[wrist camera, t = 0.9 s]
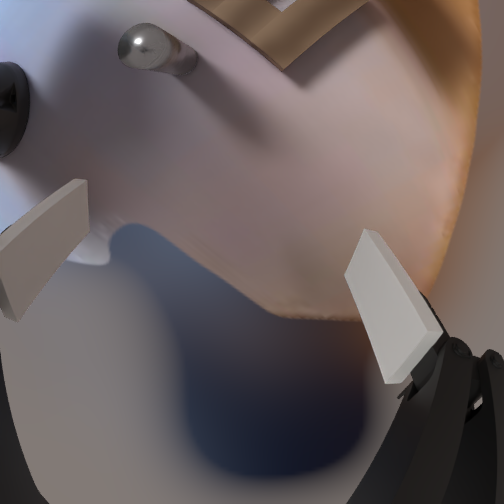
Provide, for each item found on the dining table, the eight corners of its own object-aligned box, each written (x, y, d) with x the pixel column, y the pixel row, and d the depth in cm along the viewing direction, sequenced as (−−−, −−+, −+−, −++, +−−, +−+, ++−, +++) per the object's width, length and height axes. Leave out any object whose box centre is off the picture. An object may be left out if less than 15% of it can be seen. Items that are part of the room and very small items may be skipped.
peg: (158, 63, 25) (109, 53, 15) (180, 39, 24) (139, 15, 14) (182, 81, 27) (141, 77, 16) (204, 57, 25) (174, 38, 15)
